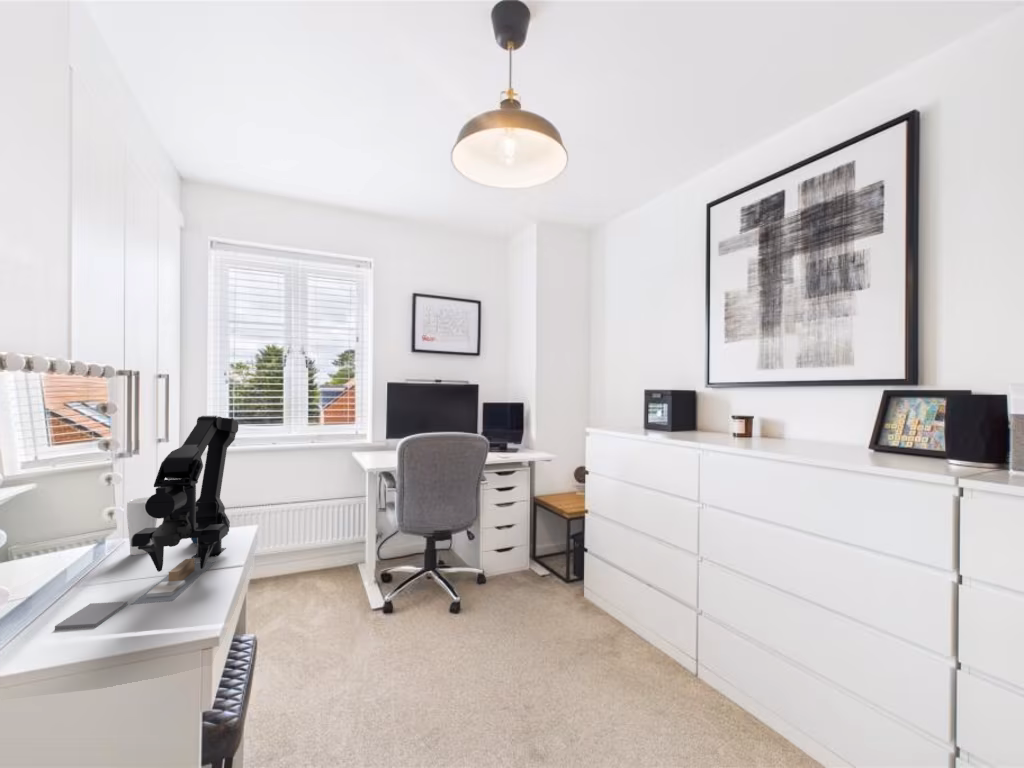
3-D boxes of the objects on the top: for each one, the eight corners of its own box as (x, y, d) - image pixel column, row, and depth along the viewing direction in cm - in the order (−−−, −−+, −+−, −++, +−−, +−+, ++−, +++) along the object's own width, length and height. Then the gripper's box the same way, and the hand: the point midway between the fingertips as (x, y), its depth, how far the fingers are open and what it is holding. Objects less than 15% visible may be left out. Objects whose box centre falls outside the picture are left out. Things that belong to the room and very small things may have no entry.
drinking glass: (144, 557, 124) (144, 503, 123) (120, 557, 124) (120, 503, 124) (163, 548, 130) (163, 497, 130) (140, 548, 130) (140, 496, 130)
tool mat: (182, 565, 118) (182, 563, 118) (216, 563, 120) (216, 561, 120) (130, 607, 97) (130, 604, 97) (172, 603, 99) (172, 600, 99)
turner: (179, 571, 114) (179, 559, 114) (201, 569, 115) (201, 558, 115) (146, 597, 100) (146, 583, 100) (171, 595, 101) (171, 582, 101)
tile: (90, 603, 96) (54, 626, 87) (127, 601, 97) (95, 623, 88) (90, 611, 96) (54, 635, 87) (127, 609, 97) (95, 632, 88)
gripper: (115, 518, 100) (115, 587, 100) (209, 513, 104) (208, 580, 104) (145, 504, 111) (145, 567, 111) (228, 501, 115) (228, 561, 115)
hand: (181, 569), depth 110 cm, fingers open, 9 cm apart
